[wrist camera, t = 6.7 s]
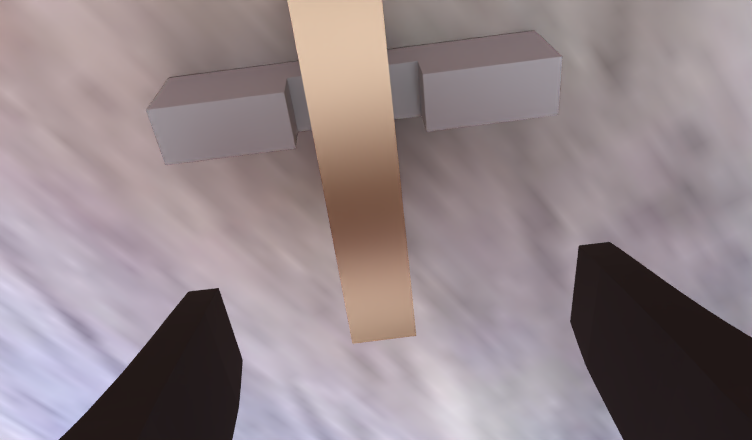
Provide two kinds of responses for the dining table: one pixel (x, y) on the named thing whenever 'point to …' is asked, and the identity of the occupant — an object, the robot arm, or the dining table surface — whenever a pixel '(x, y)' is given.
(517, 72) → the slate rail
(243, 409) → the dining table surface
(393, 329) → the beige slab block
